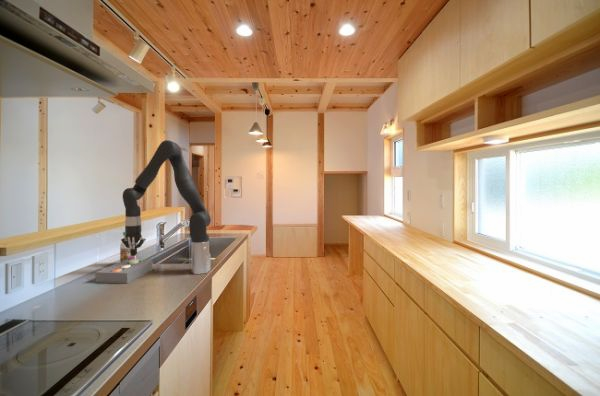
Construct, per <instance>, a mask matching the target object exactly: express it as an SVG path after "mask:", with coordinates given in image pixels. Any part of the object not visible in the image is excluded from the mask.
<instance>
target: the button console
mask: <svg viewBox="0 0 600 396" xmlns="http://www.w3.org/2000/svg"><path fill="white" fill-rule="evenodd" d="M123 265H131V266H130V267H128V268H121V266H123ZM114 269H122V271H119V272H112V270H114ZM153 269H154V267H153V260H141V259H140V260H139V263H137V264H129V260H124V261H122V262H120V261H119V262H117V263H115V264H112V265H110V266H107V267H105V268H102V269H101V270H98V271H96V272H94V273H95V274H94V275H95V283H101V284H103V283H105V284H129V283H130V282H133V281H134V280H136V279H139V278H140V277H141V276H143V275H145V274H147V273H149V272H151V271H152V270H153Z"/></svg>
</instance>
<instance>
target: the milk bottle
mask: <svg viewBox="0 0 600 396" xmlns="http://www.w3.org/2000/svg"><path fill="white" fill-rule="evenodd" d="M125 235H126V233H125V231H123V232H122V236H123V238H124V237H125ZM123 238H122V239H123ZM119 247H120V248H119V253H120V254H119V255H120V257H119V259H120V261H119V262H122V261H124V260H131V259H137V257H136V256H137V254H136V255H135V256H131V254H130V248H127V247H126V246H125V245H124V243H123V242H122V241H121V243H120V246H119Z"/></svg>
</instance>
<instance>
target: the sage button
mask: <svg viewBox="0 0 600 396" xmlns="http://www.w3.org/2000/svg"><path fill="white" fill-rule="evenodd" d="M137 263H139V258H136V259H131V260H129V264H137Z"/></svg>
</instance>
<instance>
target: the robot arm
mask: <svg viewBox="0 0 600 396" xmlns="http://www.w3.org/2000/svg"><path fill="white" fill-rule="evenodd" d="M167 160H168V161H169V163H170V164H171V167H172V169H173V177H174V182H175V186H176V188H177V191H178V193H179V194H180V196H181V198H183V199H184V201H185V202H186V203H187V204H188V206H189V207H190V209H191V211H192V213H193V214H192V215H190V218H189V223H188V225H189V226H188V227H189V237H190V240H191V241H190V243H191V247H190V248H191V253H190V254H191V273H192V274H194V275H201V274H203V275H204V274H208V272H210V271H211V253H210V236H209V234H208V232H207V227H209V226H210V224H211V221H212V218H211V215H210V213H209V212H208V210H207V208H206V206H205V204H204V202H203V201H202V197H201V195H200V193H199V190H198V189H197V186H196V183H195V181H194V179H193V177H192V175H191V174H192V173H190V170H189V168H188V167H187V163H186V161H185V158H184V156H183V152H182V148H181V147H180V145H179V144H178V143H177V142H174V141H172V140H163V141H161V143H160V144H159V145H158V147H157V148H156V150H155V151H154V154H153V155H152V156H151V159H150V160H149V161H148V163H147V164H146V166H145V168H143V170H142V171H141V173H139V175H138V176H137V177H136V179H135V180H134V182H135V184H134V185H133V187H130V188H129V187H128V188H126V189H124V190H123V192H122V202H123V205H124V208H125V213H124V214H125V218H124V229H125V230H124V232H125V233H126V235H125V237H124V236H123V237H124V238H121V239H120V240H121V242H123V243H124V245H125V246H126V247H127V248H130V254H131V256H135V255H136V256H137V255H138V249H139V248H141V247H142V245H143V244H144V243H146V238H144V237H143V236H142V217H141V214H142V213H141V212H142V211H141V207H140V205H138V201H139V200H140V199H142V198H143V196H144V195H145V194H146V191H147V189H148V188H149V186H151V184H152V183H153V182H154V181H155V180H156V178H157V175H158V174H159V171H160V169H161V168H162V165H163V164H164V163H165V162H166V161H167Z"/></svg>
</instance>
